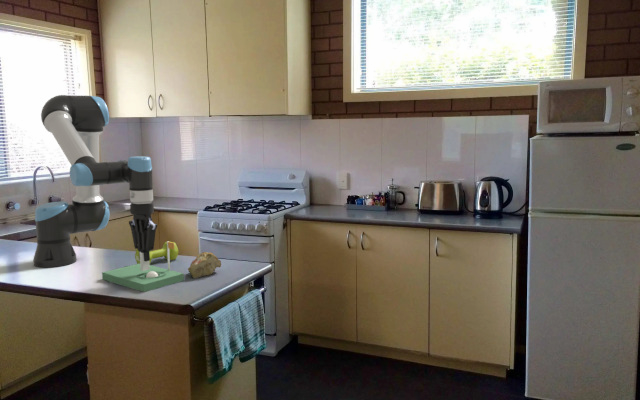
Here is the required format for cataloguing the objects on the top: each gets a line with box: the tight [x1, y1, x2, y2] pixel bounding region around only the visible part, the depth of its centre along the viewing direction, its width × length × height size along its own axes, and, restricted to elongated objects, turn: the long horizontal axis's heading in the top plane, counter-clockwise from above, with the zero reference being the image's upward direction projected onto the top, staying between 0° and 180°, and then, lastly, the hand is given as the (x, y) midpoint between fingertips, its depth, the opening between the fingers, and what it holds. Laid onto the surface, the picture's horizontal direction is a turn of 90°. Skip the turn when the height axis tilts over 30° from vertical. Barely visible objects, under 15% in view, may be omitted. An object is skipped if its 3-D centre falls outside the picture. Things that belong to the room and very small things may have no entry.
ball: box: [146, 271, 158, 278], centre depth 186 cm, size 4×4×4 cm
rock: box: [187, 251, 222, 279], centre depth 197 cm, size 12×9×10 cm
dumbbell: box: [134, 241, 179, 265], centre depth 213 cm, size 16×8×7 cm, turn 142°
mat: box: [101, 263, 185, 293], centre depth 189 cm, size 24×16×2 cm, turn 53°
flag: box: [166, 240, 175, 271], centre depth 191 cm, size 4×1×13 cm, turn 53°
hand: (145, 269), depth 188 cm, fingers closed
